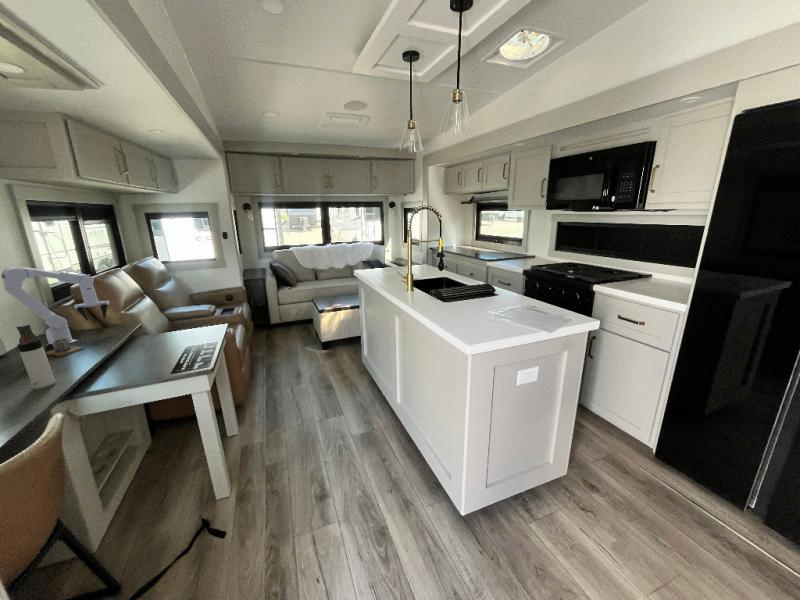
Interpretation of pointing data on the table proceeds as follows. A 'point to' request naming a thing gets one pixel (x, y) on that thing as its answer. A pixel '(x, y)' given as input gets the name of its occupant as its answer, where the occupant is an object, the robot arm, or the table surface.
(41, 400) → the table surface
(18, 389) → the table surface
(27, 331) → the sauce bottle
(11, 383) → the table surface
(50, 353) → the brown peg board
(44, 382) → the travel mug
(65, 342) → the octagonal steel tube
